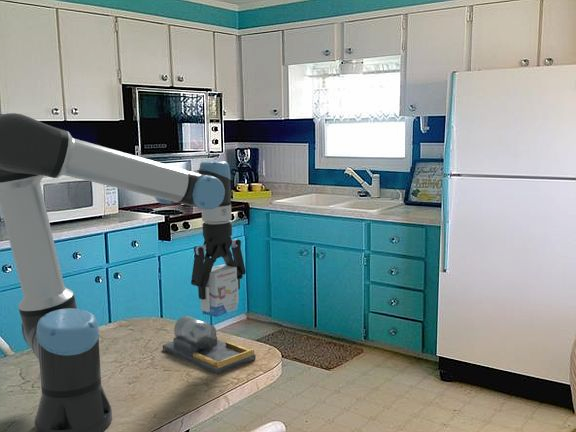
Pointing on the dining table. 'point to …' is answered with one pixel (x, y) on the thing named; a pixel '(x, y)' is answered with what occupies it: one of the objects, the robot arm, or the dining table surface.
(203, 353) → the motor unit
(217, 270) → the ink box
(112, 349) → the dining table surface
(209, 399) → the dining table surface
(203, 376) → the dining table surface
